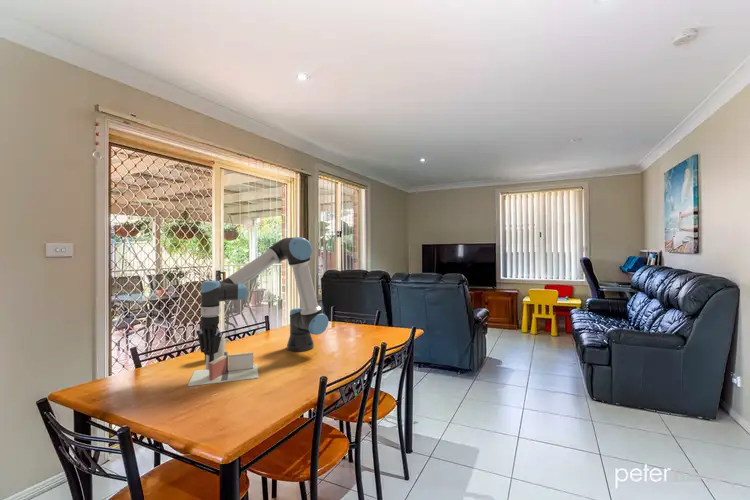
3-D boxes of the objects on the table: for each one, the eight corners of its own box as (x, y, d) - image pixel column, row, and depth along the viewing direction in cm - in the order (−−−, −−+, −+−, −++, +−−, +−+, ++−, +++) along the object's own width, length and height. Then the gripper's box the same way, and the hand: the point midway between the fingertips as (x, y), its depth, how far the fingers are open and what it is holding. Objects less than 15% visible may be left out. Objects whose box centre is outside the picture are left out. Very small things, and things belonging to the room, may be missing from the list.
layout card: (257, 364, 174) (257, 363, 174) (258, 378, 155) (258, 377, 155) (194, 371, 165) (194, 370, 165) (187, 386, 146) (187, 385, 146)
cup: (220, 361, 178) (220, 338, 178) (204, 361, 179) (204, 338, 179) (227, 356, 187) (227, 334, 186) (212, 356, 187) (212, 334, 187)
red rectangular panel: (222, 371, 163) (222, 355, 163) (226, 371, 162) (226, 355, 162) (208, 379, 152) (208, 362, 152) (212, 379, 152) (212, 363, 152)
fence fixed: (253, 367, 169) (253, 349, 169) (253, 369, 167) (253, 350, 167) (224, 371, 164) (224, 352, 164) (224, 372, 163) (224, 353, 163)
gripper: (191, 316, 154) (190, 369, 154) (215, 318, 150) (214, 373, 150) (204, 313, 161) (204, 364, 161) (227, 315, 157) (227, 367, 157)
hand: (209, 368), depth 155 cm, fingers closed
